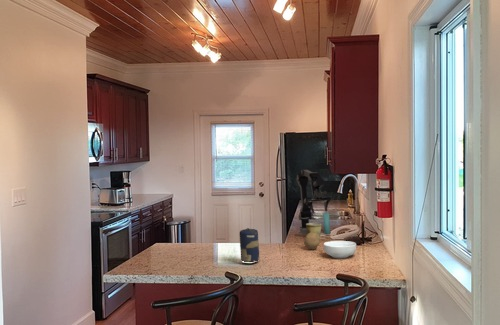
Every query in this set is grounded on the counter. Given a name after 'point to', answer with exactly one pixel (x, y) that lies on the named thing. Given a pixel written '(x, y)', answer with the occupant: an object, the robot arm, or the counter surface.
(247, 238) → the canister
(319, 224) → the ceramic cup
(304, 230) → the walnut base
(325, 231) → the teal post
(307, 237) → the natural sponge
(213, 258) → the counter surface
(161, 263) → the counter surface
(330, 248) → the cereal bowl
